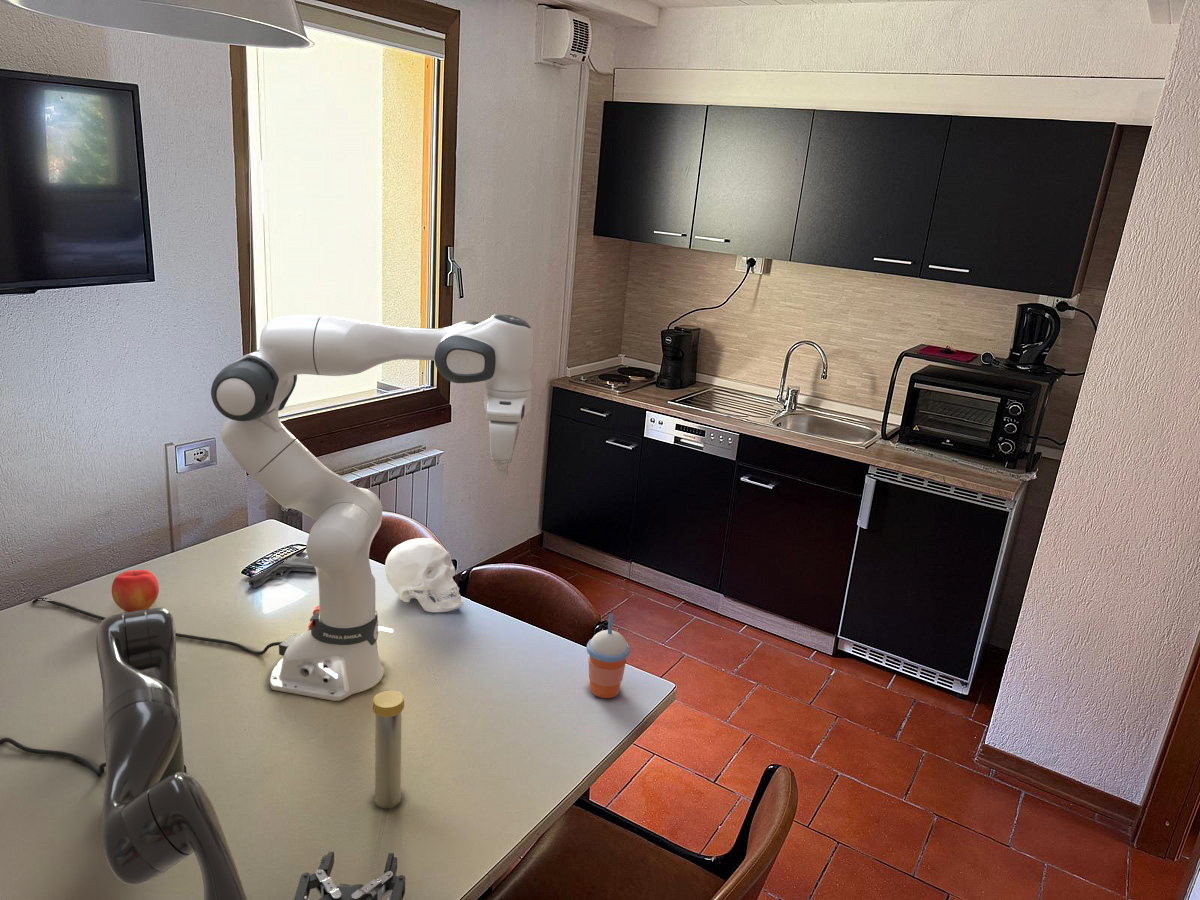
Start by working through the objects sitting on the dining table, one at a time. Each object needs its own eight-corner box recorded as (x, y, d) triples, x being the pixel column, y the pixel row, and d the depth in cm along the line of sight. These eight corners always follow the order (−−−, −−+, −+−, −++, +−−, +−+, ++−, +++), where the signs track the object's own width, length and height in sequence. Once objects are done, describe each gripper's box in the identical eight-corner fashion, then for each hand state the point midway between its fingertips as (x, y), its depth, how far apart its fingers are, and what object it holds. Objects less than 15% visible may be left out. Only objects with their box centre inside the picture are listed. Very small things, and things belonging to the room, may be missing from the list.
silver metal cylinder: (372, 808, 143) (372, 708, 137) (378, 791, 147) (378, 693, 141) (398, 809, 143) (399, 709, 138) (402, 792, 147) (403, 694, 142)
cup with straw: (621, 706, 176) (629, 628, 171) (578, 698, 178) (585, 621, 173) (629, 682, 185) (636, 608, 180) (588, 675, 186) (594, 601, 181)
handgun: (292, 594, 211) (247, 586, 213) (325, 565, 228) (283, 558, 229) (291, 586, 211) (246, 578, 212) (325, 557, 227) (283, 550, 229)
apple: (163, 615, 196) (160, 576, 193) (116, 624, 191) (112, 584, 188) (157, 598, 204) (154, 559, 201) (111, 606, 199) (107, 567, 196)
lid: (369, 716, 137) (369, 707, 137) (376, 698, 142) (376, 689, 141) (401, 718, 138) (401, 708, 137) (406, 700, 142) (406, 690, 142)
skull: (448, 622, 203) (451, 561, 199) (372, 599, 211) (374, 540, 207) (477, 602, 215) (480, 543, 211) (405, 581, 223) (406, 524, 219)
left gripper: (390, 929, 108) (411, 836, 123) (274, 927, 107) (310, 834, 122) (390, 976, 110) (411, 879, 125) (276, 974, 109) (312, 876, 124)
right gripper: (496, 387, 172) (494, 452, 176) (485, 413, 153) (482, 486, 157) (528, 390, 172) (524, 455, 176) (520, 416, 153) (516, 488, 157)
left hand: (361, 856), depth 124 cm, fingers open, 8 cm apart
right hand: (504, 470), depth 166 cm, fingers open, 8 cm apart
